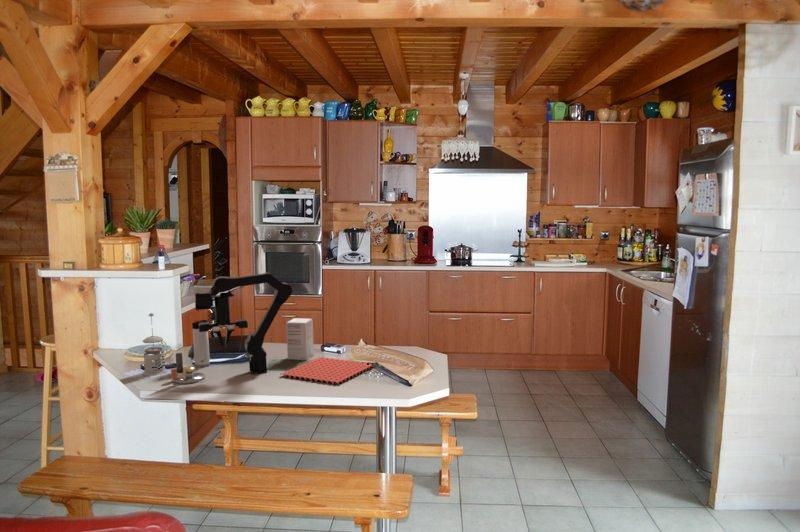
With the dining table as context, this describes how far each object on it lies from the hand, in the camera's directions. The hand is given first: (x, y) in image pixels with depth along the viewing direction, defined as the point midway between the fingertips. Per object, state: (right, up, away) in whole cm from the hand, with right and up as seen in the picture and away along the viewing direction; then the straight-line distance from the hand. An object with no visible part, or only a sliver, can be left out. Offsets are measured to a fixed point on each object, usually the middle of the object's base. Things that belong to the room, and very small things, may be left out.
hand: (224, 346), depth 244 cm
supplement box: (+26, -9, +27) cm, 39 cm away
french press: (-31, -12, +9) cm, 34 cm away
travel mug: (-14, -11, +17) cm, 24 cm away
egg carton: (+42, -12, +3) cm, 43 cm away
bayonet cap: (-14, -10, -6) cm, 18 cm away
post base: (-13, -13, -3) cm, 19 cm away
